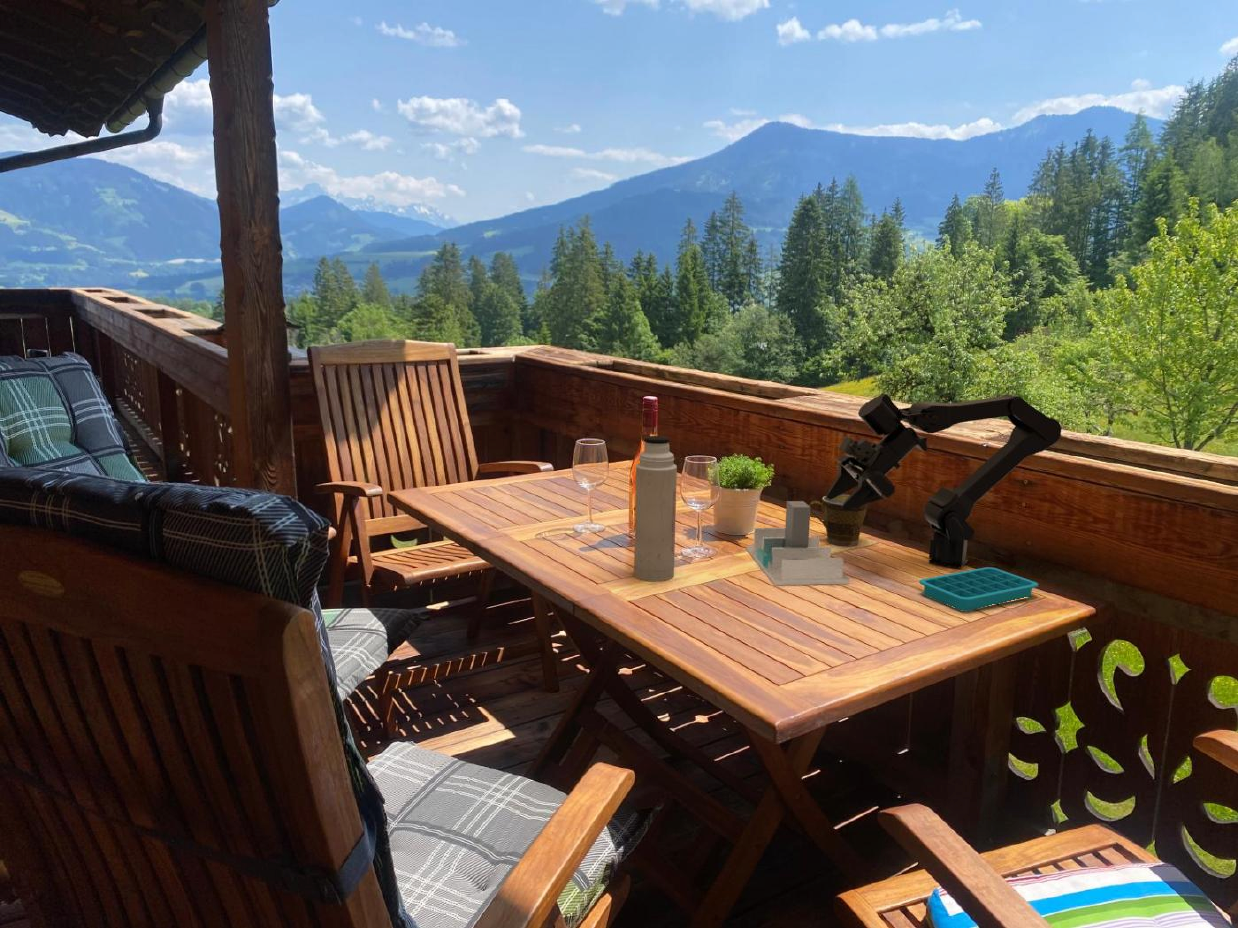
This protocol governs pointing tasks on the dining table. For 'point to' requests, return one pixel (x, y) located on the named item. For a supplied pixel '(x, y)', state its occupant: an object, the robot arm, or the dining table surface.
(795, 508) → the tall gray rectangular box
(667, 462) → the thermos bottle
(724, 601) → the dining table surface
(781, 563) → the tray
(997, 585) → the ice cube tray
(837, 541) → the ceramic cup
